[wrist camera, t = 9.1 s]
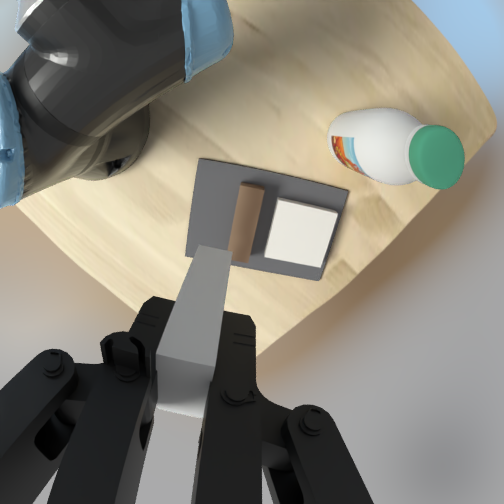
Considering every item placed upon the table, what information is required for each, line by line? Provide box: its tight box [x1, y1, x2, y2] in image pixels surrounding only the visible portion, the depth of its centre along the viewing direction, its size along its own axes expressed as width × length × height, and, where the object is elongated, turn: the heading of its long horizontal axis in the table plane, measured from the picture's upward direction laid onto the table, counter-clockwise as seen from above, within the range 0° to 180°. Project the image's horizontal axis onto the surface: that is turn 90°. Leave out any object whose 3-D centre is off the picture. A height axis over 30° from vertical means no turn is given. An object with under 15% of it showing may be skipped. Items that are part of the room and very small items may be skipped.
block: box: [228, 182, 265, 263], centre depth 36 cm, size 3×10×2 cm, turn 168°
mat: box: [185, 158, 348, 281], centre depth 38 cm, size 20×14×1 cm
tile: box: [264, 197, 338, 268], centre depth 37 cm, size 2×8×8 cm
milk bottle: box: [327, 108, 465, 189], centre depth 24 cm, size 8×8×20 cm
